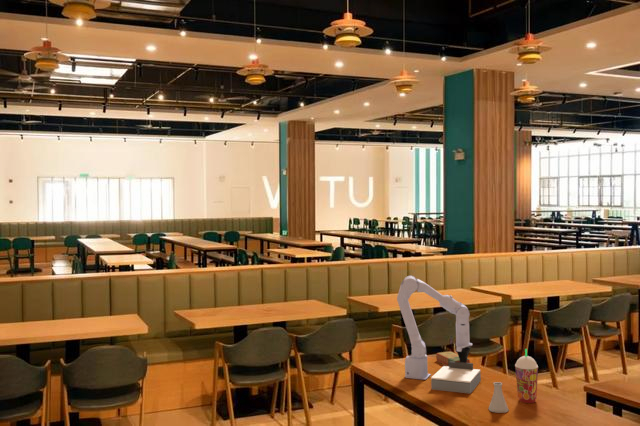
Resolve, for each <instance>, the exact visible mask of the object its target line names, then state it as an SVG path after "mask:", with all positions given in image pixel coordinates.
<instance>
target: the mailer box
mask: <svg viewBox="0 0 640 426" xmlns="http://www.w3.org/2000/svg"><path fill="white" fill-rule="evenodd" d="M481 374H482V373H481V371H480V372H479V373H478V374H477V376H476V377H475V378H474V379H473V380H472V381H471V383H465V382H456V381H446V380H436V379H431V378H430V379H431V380H430V381H431V382H430V385H431V386H430V387H431V390H434V391H442V392H444V391H445V392H452V393H461V394H463V393H464V394H468V395H469V394H470V395H471V394H472V392H473V391H474V390H475V389H476V388H477V386H478V385H479V384H480V383H481V382H482V378H481ZM479 382H480V383H479Z"/></svg>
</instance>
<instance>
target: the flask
mask: <svg viewBox="0 0 640 426" xmlns="http://www.w3.org/2000/svg"><path fill="white" fill-rule="evenodd" d="M492 384H493V386H494V387H493V394H492V397H491V401H490V403H489V406H488V410H489V411H490V413H491V412H492V413H498V414H500V413H501V414H502V413H503V414H506V413H507V412H509V407H508V404H507V401H506V400H505V397H504V393H503V389H502V386H503V382H500V381H499V382H493V383H492Z"/></svg>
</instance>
